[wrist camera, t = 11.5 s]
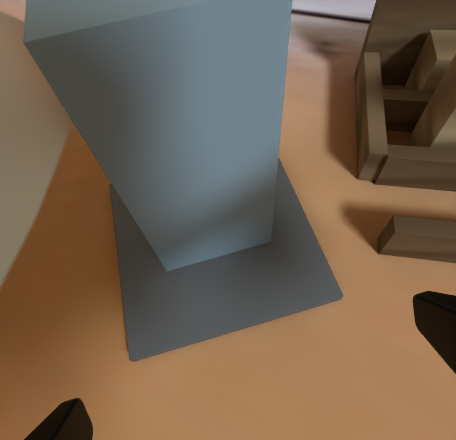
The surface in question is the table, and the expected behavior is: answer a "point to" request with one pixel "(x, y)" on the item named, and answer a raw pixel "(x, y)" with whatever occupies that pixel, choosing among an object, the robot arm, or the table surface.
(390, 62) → the rack
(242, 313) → the mat
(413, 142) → the offcut tall
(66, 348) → the table surface
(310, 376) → the table surface
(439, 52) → the offcut short
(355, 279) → the table surface
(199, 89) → the pale blue wedge-ended prism
